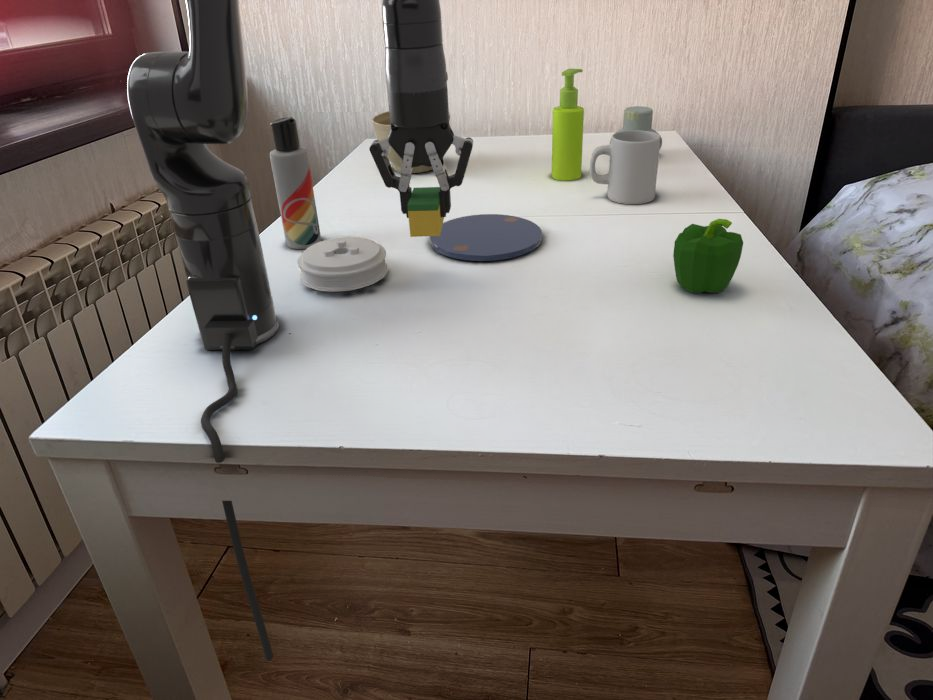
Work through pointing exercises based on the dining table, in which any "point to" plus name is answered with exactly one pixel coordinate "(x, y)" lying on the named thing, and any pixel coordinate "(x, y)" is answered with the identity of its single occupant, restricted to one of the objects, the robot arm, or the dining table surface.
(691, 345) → the dining table surface
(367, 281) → the lid
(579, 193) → the dining table surface
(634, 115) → the air freshener
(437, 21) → the robot arm
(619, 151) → the mug
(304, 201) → the lotion bottle
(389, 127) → the planter bowl
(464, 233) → the plate
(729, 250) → the bell pepper
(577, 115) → the soap dispenser
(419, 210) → the sponge
